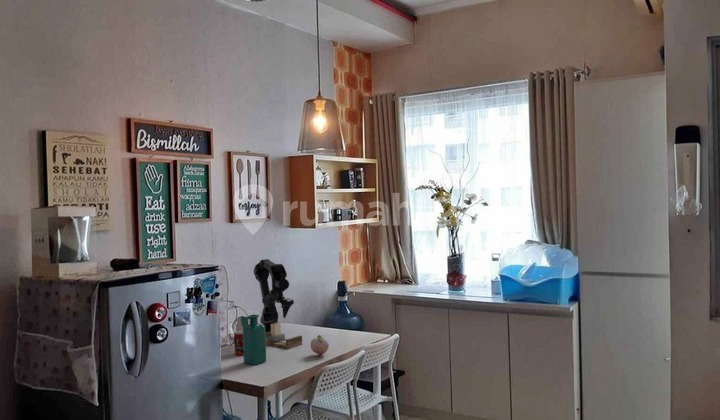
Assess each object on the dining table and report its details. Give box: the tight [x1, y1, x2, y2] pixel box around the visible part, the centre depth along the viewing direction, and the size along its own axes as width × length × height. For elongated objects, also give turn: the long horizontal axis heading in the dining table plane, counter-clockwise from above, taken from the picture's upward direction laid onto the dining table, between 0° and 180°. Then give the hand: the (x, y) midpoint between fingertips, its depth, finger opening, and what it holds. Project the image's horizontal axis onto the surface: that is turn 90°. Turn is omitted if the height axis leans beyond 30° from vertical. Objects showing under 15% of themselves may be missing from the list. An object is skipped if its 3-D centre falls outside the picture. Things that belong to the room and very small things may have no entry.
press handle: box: [267, 322, 286, 342], centre depth 309 cm, size 6×7×8 cm
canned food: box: [233, 329, 244, 357], centre depth 290 cm, size 8×8×11 cm
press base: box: [265, 332, 303, 350], centre depth 307 cm, size 22×10×4 cm, turn 52°
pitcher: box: [240, 314, 267, 366], centre depth 273 cm, size 10×8×22 cm
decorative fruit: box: [310, 334, 330, 357], centre depth 282 cm, size 9×8×10 cm
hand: (278, 316), depth 317 cm, fingers open, 9 cm apart
